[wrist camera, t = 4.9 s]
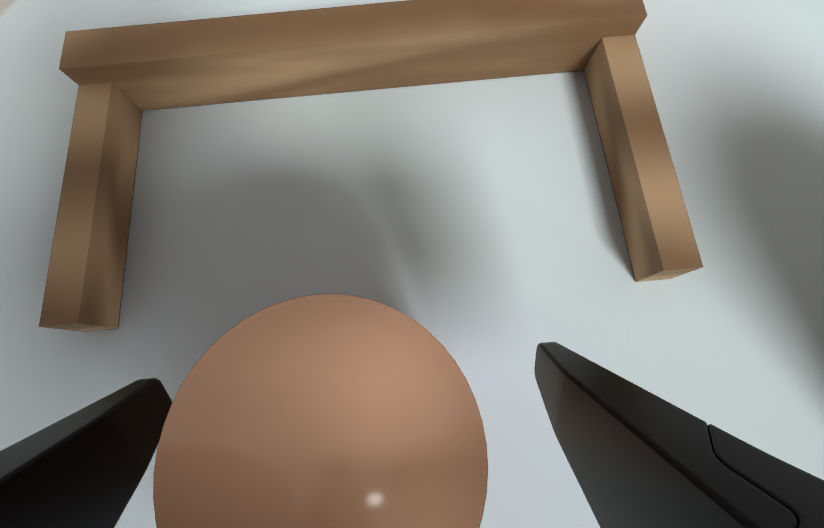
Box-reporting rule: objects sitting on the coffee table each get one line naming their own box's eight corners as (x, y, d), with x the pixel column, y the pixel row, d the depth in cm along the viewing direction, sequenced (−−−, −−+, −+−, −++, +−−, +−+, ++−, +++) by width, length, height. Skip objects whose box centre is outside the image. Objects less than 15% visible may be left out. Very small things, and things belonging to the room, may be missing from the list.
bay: (670, 278, 17) (722, 259, 14) (83, 331, 17) (11, 323, 14) (605, 35, 20) (636, -21, 17) (117, 80, 20) (65, 31, 17)
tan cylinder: (453, 467, 15) (511, 648, 5) (320, 479, 15) (137, 681, 5) (439, 332, 16) (465, 281, 7) (317, 343, 16) (167, 307, 7)
